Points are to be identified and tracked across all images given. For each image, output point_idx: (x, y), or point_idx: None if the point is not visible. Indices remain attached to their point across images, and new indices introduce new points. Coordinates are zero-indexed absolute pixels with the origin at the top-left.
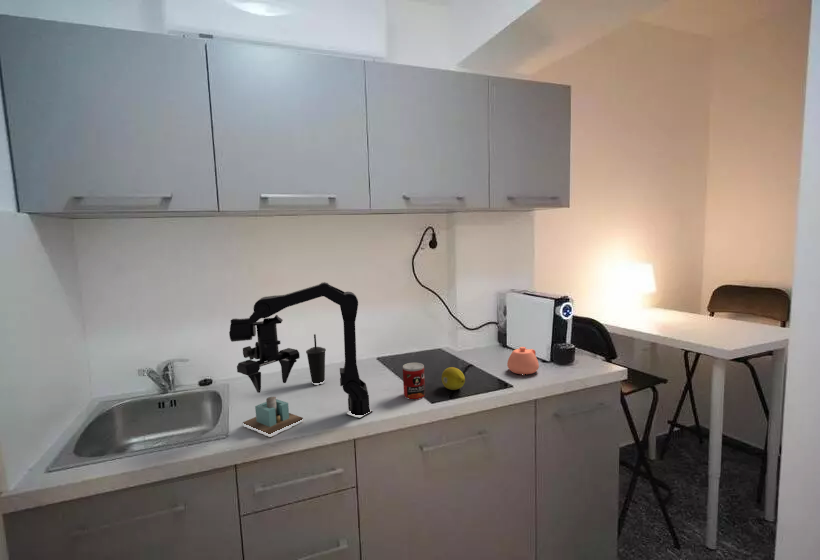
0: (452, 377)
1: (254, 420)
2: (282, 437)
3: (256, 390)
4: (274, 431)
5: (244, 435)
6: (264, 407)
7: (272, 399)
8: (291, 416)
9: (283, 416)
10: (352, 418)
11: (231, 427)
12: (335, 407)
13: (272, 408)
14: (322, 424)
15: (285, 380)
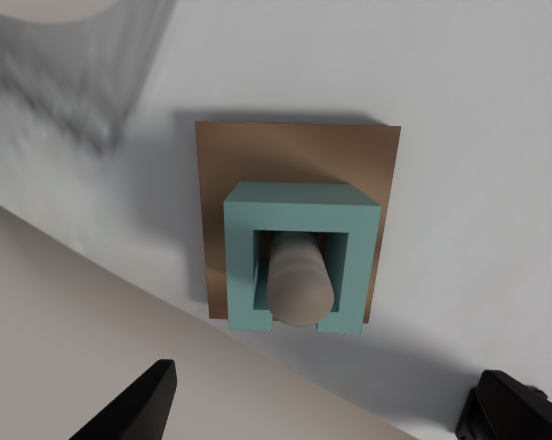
0: None
1: (242, 159)
2: (243, 332)
3: (144, 372)
4: None
5: (166, 204)
6: (245, 272)
7: (290, 322)
8: None
9: None
10: (452, 415)
11: (163, 68)
12: (524, 319)
13: (261, 322)
14: (377, 371)
15: (497, 437)
